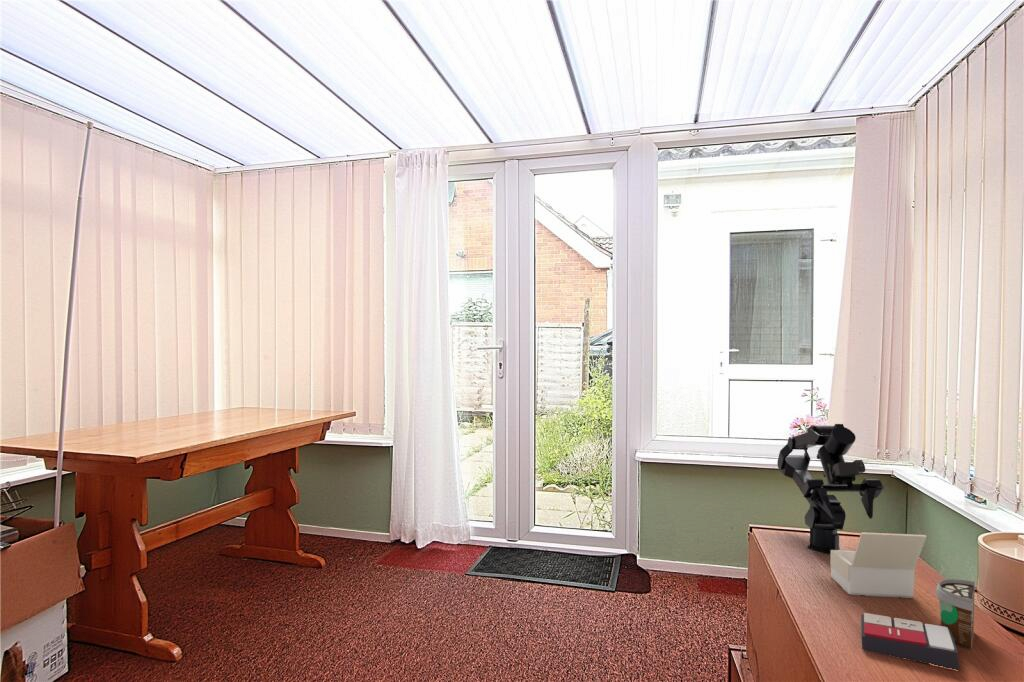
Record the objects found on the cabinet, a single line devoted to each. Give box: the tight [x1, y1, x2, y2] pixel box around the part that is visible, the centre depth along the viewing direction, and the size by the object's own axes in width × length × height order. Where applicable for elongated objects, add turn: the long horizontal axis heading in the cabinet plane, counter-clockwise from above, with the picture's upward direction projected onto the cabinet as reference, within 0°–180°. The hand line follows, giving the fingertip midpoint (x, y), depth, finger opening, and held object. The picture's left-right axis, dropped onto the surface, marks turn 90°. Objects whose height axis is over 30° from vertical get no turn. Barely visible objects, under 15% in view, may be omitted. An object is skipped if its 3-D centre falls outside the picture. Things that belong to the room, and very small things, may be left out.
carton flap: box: [851, 531, 927, 570], centre depth 138 cm, size 10×14×1 cm
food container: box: [934, 578, 976, 651], centre depth 122 cm, size 12×6×10 cm, turn 141°
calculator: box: [860, 612, 960, 671], centre depth 117 cm, size 11×4×15 cm
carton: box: [829, 549, 916, 599], centre depth 145 cm, size 10×15×7 cm
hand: (852, 518), depth 156 cm, fingers open, 9 cm apart
